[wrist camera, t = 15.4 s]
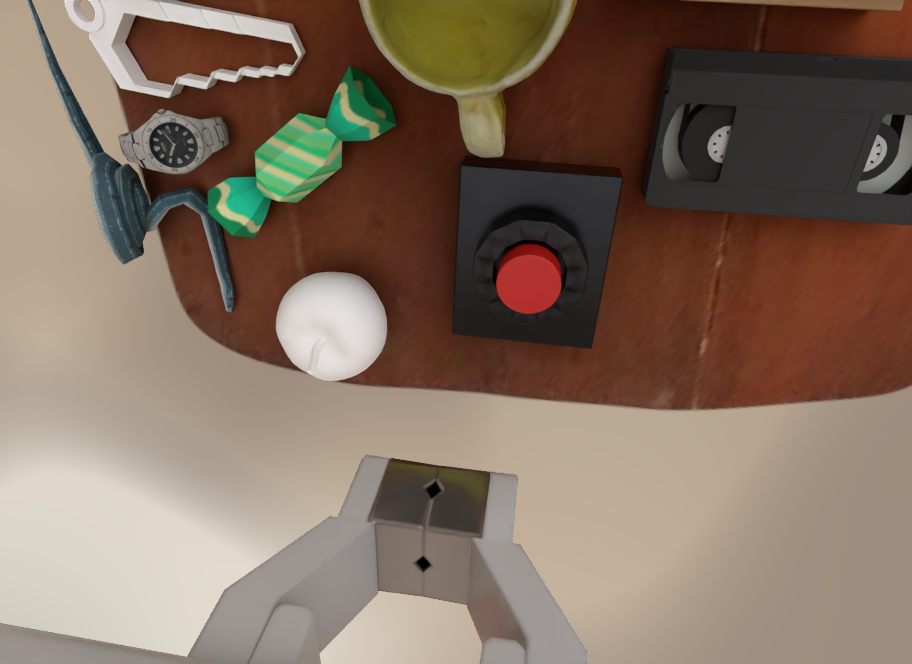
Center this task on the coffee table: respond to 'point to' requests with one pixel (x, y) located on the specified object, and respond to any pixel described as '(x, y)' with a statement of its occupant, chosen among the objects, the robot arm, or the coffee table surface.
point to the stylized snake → (129, 189)
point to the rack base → (825, 3)
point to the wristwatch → (174, 142)
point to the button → (529, 278)
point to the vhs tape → (783, 135)
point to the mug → (469, 52)
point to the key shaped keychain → (122, 3)
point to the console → (533, 222)
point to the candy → (302, 155)
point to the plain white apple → (332, 325)
